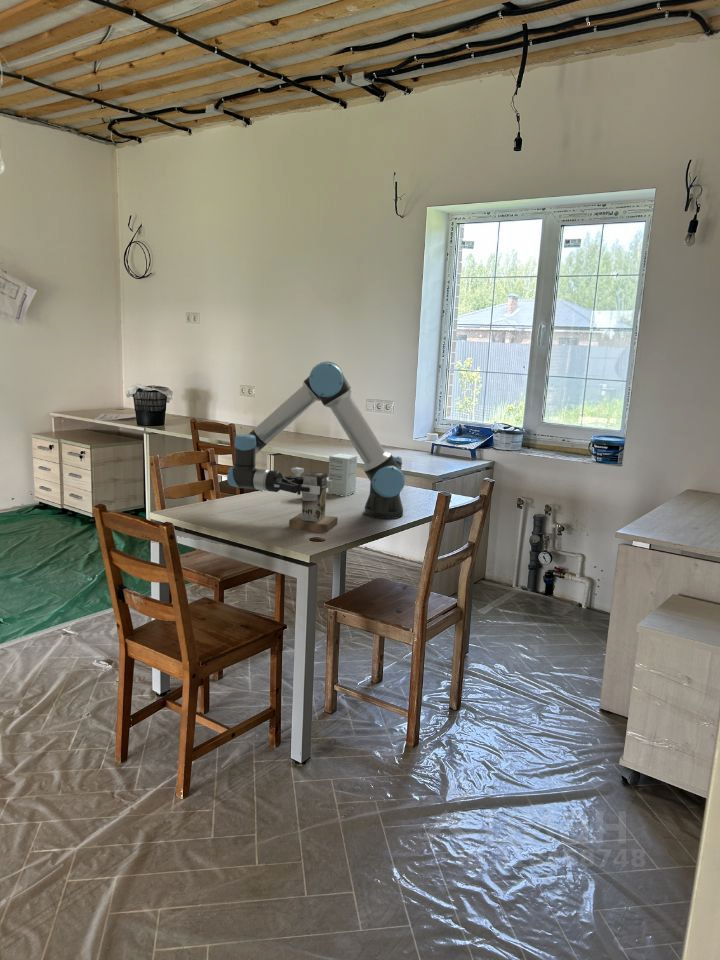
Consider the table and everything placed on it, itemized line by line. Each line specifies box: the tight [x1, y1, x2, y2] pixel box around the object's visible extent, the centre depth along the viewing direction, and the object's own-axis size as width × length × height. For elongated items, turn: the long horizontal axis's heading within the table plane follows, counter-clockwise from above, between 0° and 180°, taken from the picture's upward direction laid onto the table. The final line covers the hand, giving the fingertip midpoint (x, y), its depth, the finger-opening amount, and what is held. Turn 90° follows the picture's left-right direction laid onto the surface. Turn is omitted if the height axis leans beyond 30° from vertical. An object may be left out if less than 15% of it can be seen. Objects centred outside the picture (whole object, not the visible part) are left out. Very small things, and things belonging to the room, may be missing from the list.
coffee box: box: [301, 471, 328, 522], centre depth 237 cm, size 9×6×16 cm
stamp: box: [291, 466, 305, 477], centre depth 304 cm, size 9×7×8 cm
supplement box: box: [327, 453, 358, 497], centre depth 293 cm, size 10×9×17 cm
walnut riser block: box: [288, 512, 339, 533], centre depth 239 cm, size 14×12×4 cm
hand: (325, 487), depth 235 cm, fingers open, 11 cm apart
